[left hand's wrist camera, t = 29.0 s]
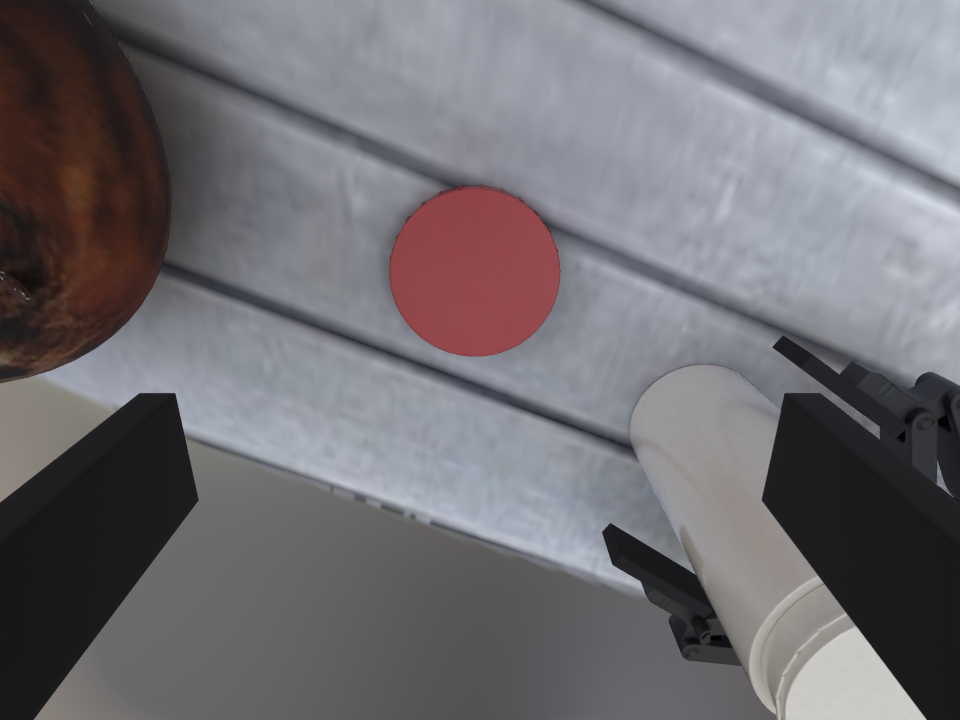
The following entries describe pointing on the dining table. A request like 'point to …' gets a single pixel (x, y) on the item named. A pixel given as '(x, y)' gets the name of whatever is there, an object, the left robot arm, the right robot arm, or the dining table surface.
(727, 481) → the jar
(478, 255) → the lid
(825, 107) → the dining table surface
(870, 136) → the dining table surface
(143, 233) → the plush toy
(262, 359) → the dining table surface
